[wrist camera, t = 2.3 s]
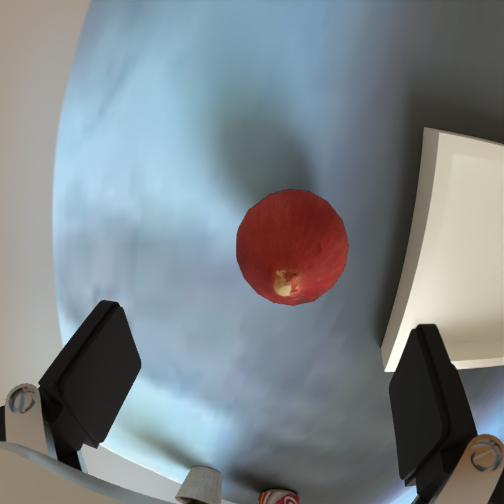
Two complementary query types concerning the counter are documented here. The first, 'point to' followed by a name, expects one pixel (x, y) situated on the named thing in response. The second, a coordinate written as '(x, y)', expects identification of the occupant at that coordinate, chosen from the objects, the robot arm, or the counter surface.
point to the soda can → (278, 497)
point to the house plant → (201, 487)
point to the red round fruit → (291, 247)
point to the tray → (454, 253)
